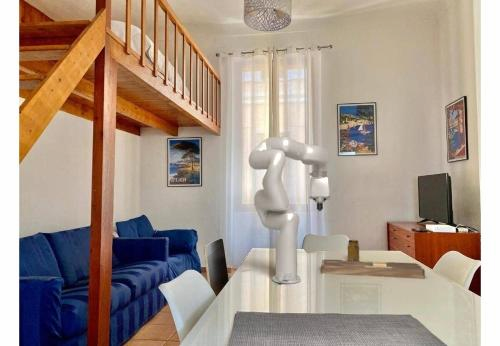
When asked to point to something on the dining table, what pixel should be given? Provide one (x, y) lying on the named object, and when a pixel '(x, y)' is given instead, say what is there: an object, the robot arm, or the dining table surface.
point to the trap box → (373, 269)
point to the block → (379, 264)
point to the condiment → (353, 250)
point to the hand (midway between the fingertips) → (319, 210)
